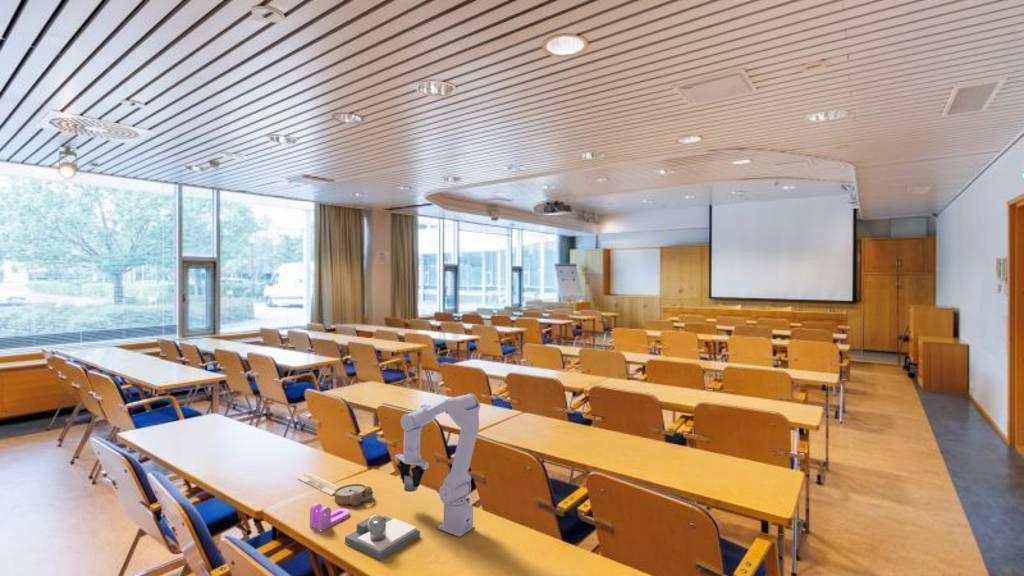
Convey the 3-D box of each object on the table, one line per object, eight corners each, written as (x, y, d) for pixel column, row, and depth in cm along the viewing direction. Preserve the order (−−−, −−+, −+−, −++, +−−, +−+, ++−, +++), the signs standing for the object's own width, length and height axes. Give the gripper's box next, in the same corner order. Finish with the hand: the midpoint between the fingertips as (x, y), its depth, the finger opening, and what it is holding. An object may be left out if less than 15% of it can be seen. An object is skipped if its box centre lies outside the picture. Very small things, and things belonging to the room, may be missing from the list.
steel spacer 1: (386, 532, 151) (386, 516, 151) (385, 540, 146) (385, 524, 146) (370, 533, 150) (370, 518, 150) (369, 542, 145) (368, 526, 145)
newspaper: (345, 492, 186) (345, 488, 186) (328, 498, 181) (328, 494, 181) (311, 476, 200) (311, 471, 200) (294, 481, 195) (294, 477, 195)
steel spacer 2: (420, 488, 174) (420, 474, 173) (409, 492, 170) (409, 478, 170) (412, 484, 177) (412, 471, 177) (401, 488, 173) (401, 474, 173)
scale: (419, 536, 155) (420, 516, 155) (380, 560, 141) (381, 538, 141) (384, 522, 163) (385, 503, 163) (344, 543, 150) (345, 522, 150)
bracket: (321, 531, 157) (321, 510, 156) (309, 526, 159) (310, 505, 159) (352, 515, 168) (353, 495, 168) (341, 510, 171) (342, 491, 170)
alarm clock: (349, 482, 188) (379, 483, 181) (350, 495, 187) (381, 496, 181) (326, 493, 177) (358, 494, 171) (328, 507, 177) (359, 509, 171)
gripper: (434, 447, 172) (434, 485, 173) (405, 439, 180) (404, 476, 181) (420, 453, 167) (420, 492, 167) (391, 444, 174) (390, 482, 175)
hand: (411, 484), depth 173 cm, fingers closed on steel spacer 2, 5 cm apart
